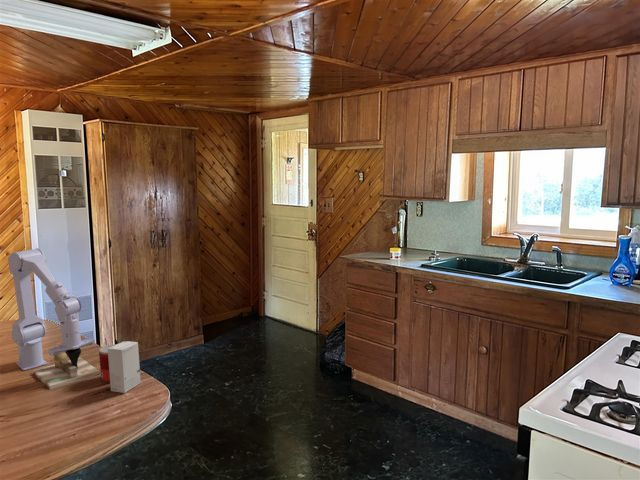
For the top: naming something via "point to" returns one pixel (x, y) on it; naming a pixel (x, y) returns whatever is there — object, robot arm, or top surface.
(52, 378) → the green tile
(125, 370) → the skincare box
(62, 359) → the friction peg
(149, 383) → the top surface
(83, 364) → the board
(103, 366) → the canned food
